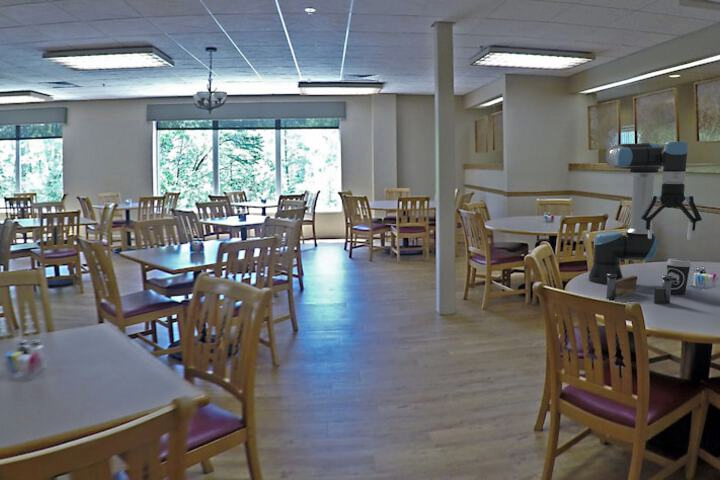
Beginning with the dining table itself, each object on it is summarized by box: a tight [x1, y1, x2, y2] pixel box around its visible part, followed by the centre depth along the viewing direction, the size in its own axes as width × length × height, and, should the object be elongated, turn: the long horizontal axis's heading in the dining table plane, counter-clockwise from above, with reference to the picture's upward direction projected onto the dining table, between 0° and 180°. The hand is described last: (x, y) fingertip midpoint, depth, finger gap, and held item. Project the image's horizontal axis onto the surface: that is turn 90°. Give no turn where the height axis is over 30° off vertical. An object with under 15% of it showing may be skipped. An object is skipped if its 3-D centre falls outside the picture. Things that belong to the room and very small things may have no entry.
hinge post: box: [605, 273, 617, 301], centre depth 231 cm, size 4×4×11 cm
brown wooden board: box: [615, 275, 638, 299], centre depth 237 cm, size 2×17×7 cm, turn 126°
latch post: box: [653, 274, 673, 305], centre depth 226 cm, size 5×7×11 cm
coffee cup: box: [665, 257, 692, 297], centre depth 239 cm, size 10×10×15 cm
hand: (669, 238), depth 212 cm, fingers open, 13 cm apart
